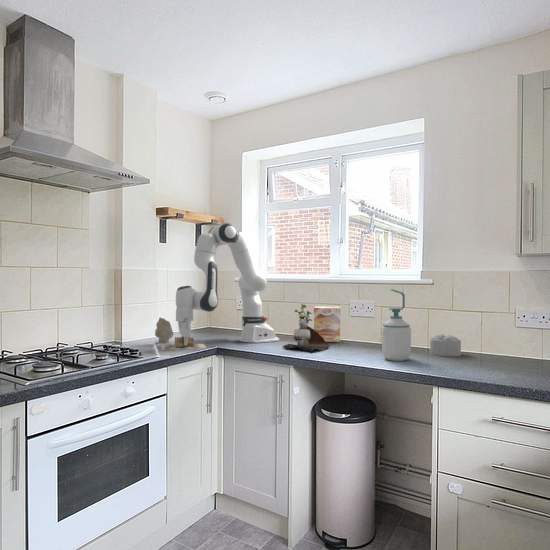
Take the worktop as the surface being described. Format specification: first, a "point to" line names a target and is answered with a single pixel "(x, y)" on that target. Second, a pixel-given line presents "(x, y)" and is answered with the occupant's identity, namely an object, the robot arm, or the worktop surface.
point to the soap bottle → (396, 336)
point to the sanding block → (180, 342)
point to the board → (182, 347)
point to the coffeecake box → (328, 323)
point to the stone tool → (163, 330)
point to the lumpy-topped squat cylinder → (445, 346)
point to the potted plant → (307, 335)
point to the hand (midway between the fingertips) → (185, 344)
